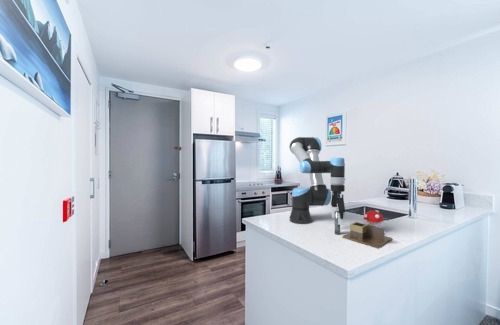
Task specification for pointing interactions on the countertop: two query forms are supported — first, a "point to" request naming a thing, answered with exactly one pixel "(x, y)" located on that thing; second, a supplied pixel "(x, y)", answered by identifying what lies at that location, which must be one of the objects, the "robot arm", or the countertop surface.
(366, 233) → the square socket plate
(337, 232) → the pin
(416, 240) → the countertop surface
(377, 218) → the mushroom
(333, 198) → the robot arm
